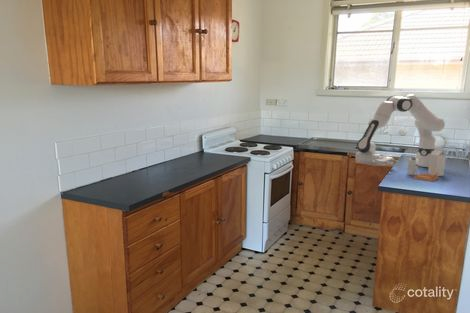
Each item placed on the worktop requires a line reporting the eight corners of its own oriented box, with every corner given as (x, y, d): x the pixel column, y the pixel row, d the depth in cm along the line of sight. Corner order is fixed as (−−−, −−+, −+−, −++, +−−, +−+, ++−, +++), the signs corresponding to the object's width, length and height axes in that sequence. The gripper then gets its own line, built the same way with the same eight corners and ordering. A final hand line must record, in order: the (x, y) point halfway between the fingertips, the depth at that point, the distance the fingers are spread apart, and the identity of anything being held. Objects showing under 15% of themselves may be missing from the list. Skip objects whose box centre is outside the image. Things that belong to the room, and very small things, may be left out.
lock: (409, 173, 278) (411, 156, 276) (417, 174, 274) (419, 158, 272) (407, 174, 274) (408, 157, 272) (415, 175, 271) (417, 158, 268)
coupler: (419, 175, 272) (420, 169, 271) (438, 178, 264) (438, 172, 263) (413, 178, 262) (413, 172, 261) (432, 181, 254) (433, 175, 253)
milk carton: (435, 176, 269) (438, 149, 266) (427, 174, 276) (430, 148, 272) (443, 176, 271) (446, 149, 267) (435, 173, 278) (439, 147, 274)
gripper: (371, 157, 282) (390, 160, 273) (382, 154, 297) (400, 156, 288) (370, 165, 283) (389, 169, 274) (381, 162, 298) (399, 165, 289)
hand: (395, 162), depth 281 cm, fingers open, 8 cm apart
